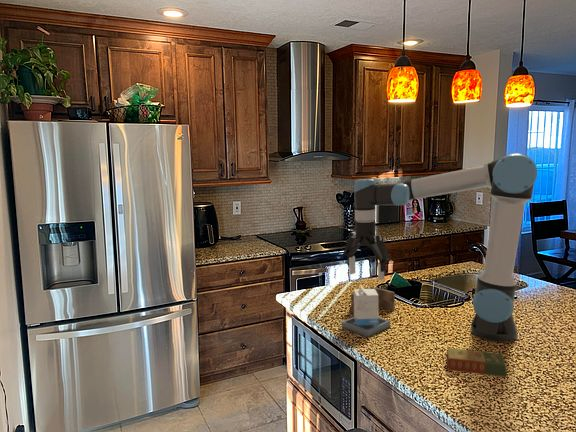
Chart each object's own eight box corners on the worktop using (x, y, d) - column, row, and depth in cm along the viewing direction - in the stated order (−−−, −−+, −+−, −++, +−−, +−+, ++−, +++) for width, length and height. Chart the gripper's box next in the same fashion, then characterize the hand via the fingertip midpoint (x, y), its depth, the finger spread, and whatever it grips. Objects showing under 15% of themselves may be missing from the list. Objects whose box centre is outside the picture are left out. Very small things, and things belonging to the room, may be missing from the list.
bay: (394, 310, 181) (394, 292, 180) (374, 319, 172) (374, 300, 171) (369, 303, 191) (369, 286, 190) (349, 311, 182) (349, 293, 181)
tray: (390, 327, 164) (390, 320, 163) (367, 337, 155) (367, 331, 154) (364, 318, 173) (364, 312, 173) (341, 328, 164) (341, 321, 164)
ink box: (379, 325, 159) (379, 290, 157) (356, 326, 159) (356, 291, 158) (375, 317, 168) (374, 284, 166) (353, 317, 168) (353, 284, 166)
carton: (446, 359, 138) (447, 346, 137) (501, 365, 132) (502, 352, 132) (447, 371, 130) (448, 358, 129) (506, 378, 125) (507, 364, 124)
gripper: (399, 222, 152) (400, 280, 154) (346, 217, 170) (347, 269, 173) (387, 224, 147) (388, 284, 149) (333, 219, 165) (335, 273, 168)
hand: (366, 276), depth 161 cm, fingers open, 13 cm apart
